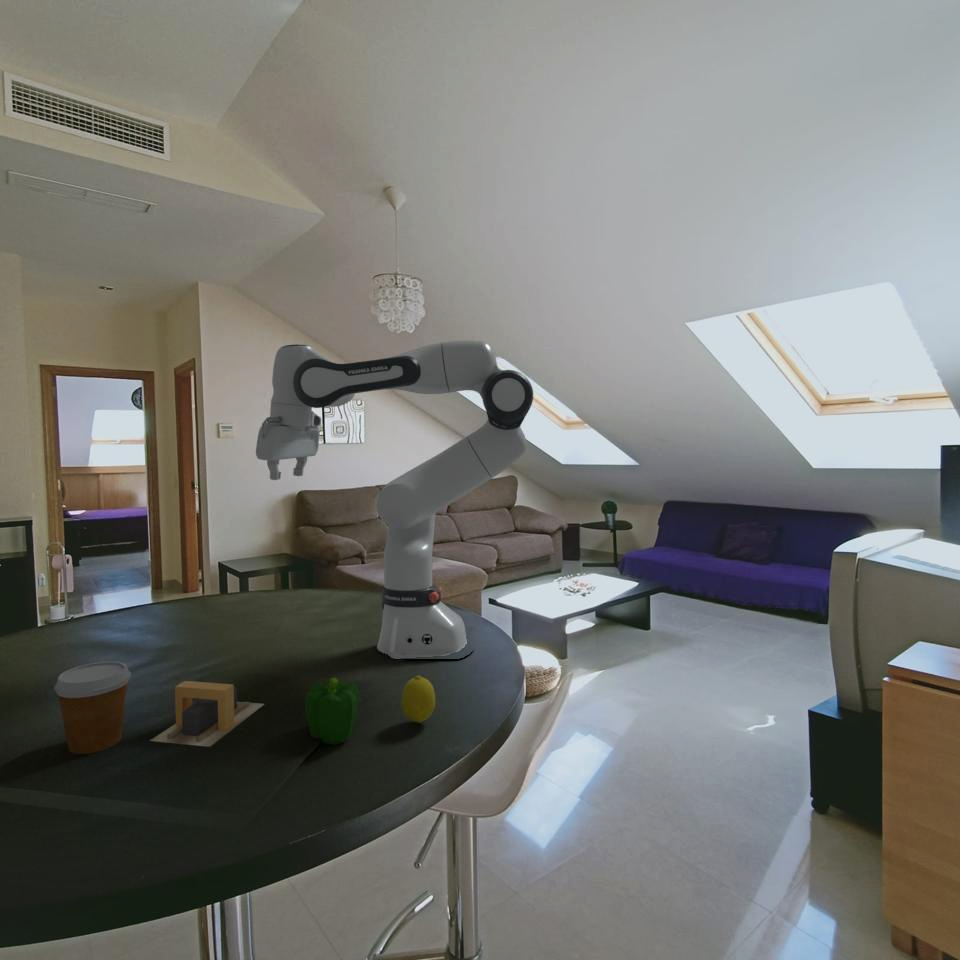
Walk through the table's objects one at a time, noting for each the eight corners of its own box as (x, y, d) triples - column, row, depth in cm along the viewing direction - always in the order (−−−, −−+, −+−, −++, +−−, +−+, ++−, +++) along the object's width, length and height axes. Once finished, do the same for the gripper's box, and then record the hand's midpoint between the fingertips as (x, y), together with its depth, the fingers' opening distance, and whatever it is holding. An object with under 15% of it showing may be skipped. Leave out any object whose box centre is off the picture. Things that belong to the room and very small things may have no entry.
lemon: (421, 734, 92) (421, 685, 92) (394, 726, 95) (394, 677, 95) (442, 721, 97) (442, 673, 97) (415, 713, 100) (415, 667, 100)
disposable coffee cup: (40, 760, 85) (38, 678, 84) (103, 731, 93) (101, 657, 93) (86, 773, 81) (83, 688, 81) (147, 741, 90) (145, 664, 90)
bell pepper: (310, 726, 95) (310, 665, 95) (362, 724, 96) (361, 664, 95) (298, 752, 87) (298, 686, 87) (354, 750, 88) (354, 684, 87)
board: (264, 710, 101) (264, 700, 101) (210, 754, 86) (209, 742, 86) (212, 706, 103) (212, 696, 103) (150, 748, 88) (149, 736, 88)
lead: (237, 708, 99) (236, 687, 99) (198, 736, 89) (198, 713, 89) (222, 707, 100) (221, 686, 99) (182, 734, 90) (182, 711, 90)
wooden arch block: (234, 724, 93) (233, 684, 93) (225, 731, 91) (224, 690, 91) (186, 719, 95) (185, 680, 95) (175, 726, 93) (175, 686, 92)
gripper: (276, 418, 121) (272, 484, 123) (325, 418, 141) (321, 475, 143) (250, 415, 123) (246, 480, 125) (301, 416, 143) (298, 472, 144)
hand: (286, 477), depth 134 cm, fingers open, 8 cm apart
